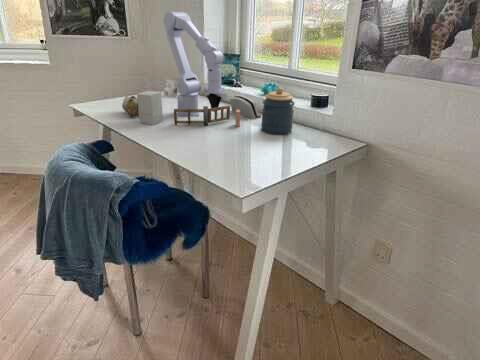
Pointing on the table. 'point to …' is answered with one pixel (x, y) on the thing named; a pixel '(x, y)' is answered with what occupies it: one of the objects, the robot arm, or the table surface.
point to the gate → (216, 114)
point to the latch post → (237, 118)
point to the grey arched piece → (244, 106)
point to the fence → (188, 116)
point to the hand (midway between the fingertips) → (214, 111)
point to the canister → (277, 112)
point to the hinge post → (205, 115)
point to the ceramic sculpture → (131, 105)
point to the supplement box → (150, 107)
